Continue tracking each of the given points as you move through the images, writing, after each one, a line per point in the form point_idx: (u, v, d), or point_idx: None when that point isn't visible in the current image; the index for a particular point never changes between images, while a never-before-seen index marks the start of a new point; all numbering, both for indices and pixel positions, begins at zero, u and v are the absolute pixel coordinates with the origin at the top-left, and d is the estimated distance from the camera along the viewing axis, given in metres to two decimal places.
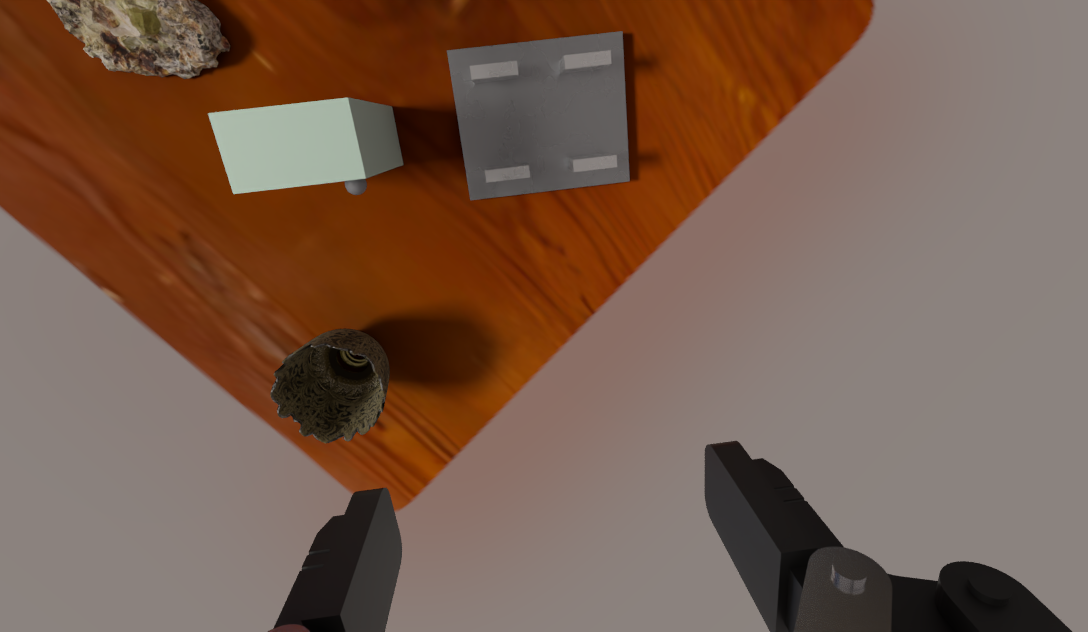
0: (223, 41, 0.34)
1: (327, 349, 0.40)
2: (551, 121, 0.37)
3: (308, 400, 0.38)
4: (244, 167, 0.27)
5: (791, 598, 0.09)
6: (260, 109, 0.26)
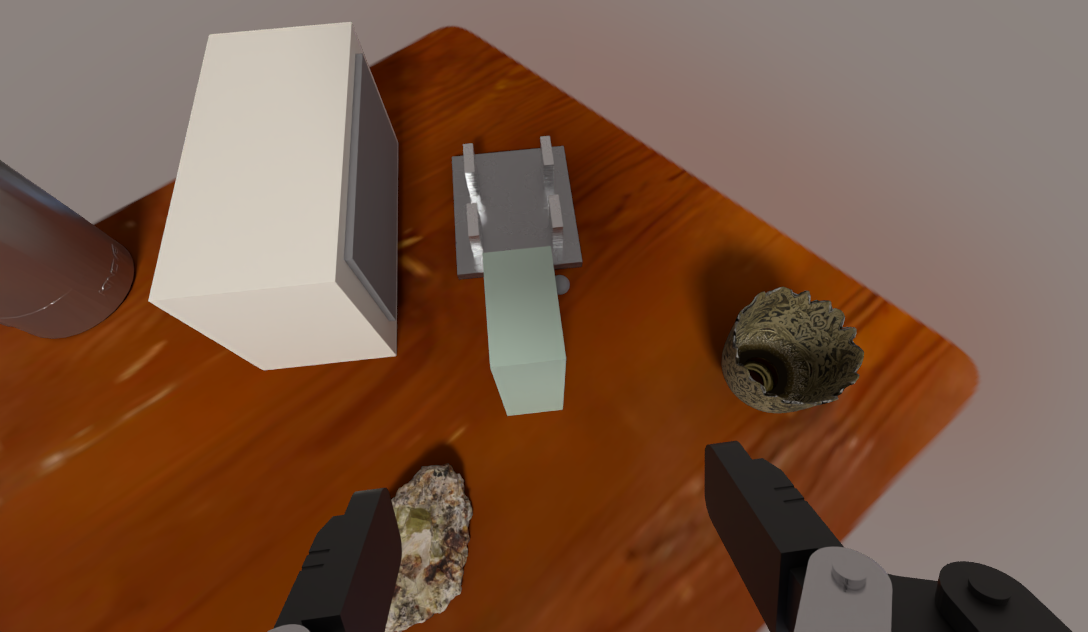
0: (442, 467, 0.35)
1: None
2: (515, 200, 0.44)
3: (816, 398, 0.32)
4: (540, 344, 0.27)
5: (791, 599, 0.09)
6: (488, 322, 0.28)
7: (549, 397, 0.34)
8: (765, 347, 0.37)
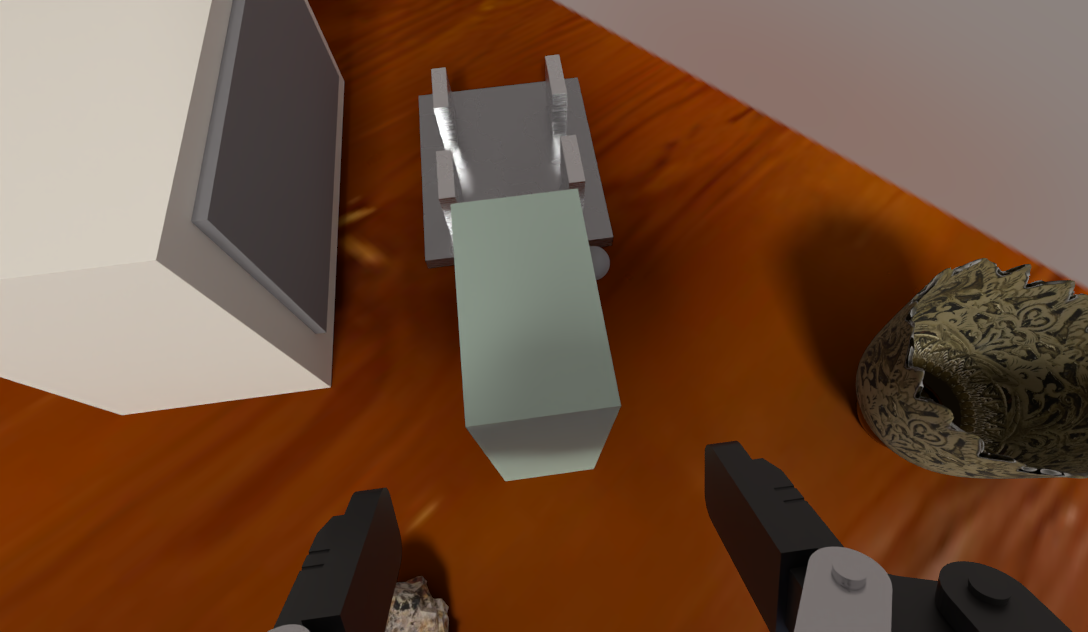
0: (411, 583, 0.21)
1: None
2: (510, 152, 0.30)
3: (1048, 453, 0.18)
4: (566, 376, 0.14)
5: (791, 598, 0.09)
6: (462, 333, 0.14)
7: (575, 457, 0.20)
8: (917, 361, 0.23)
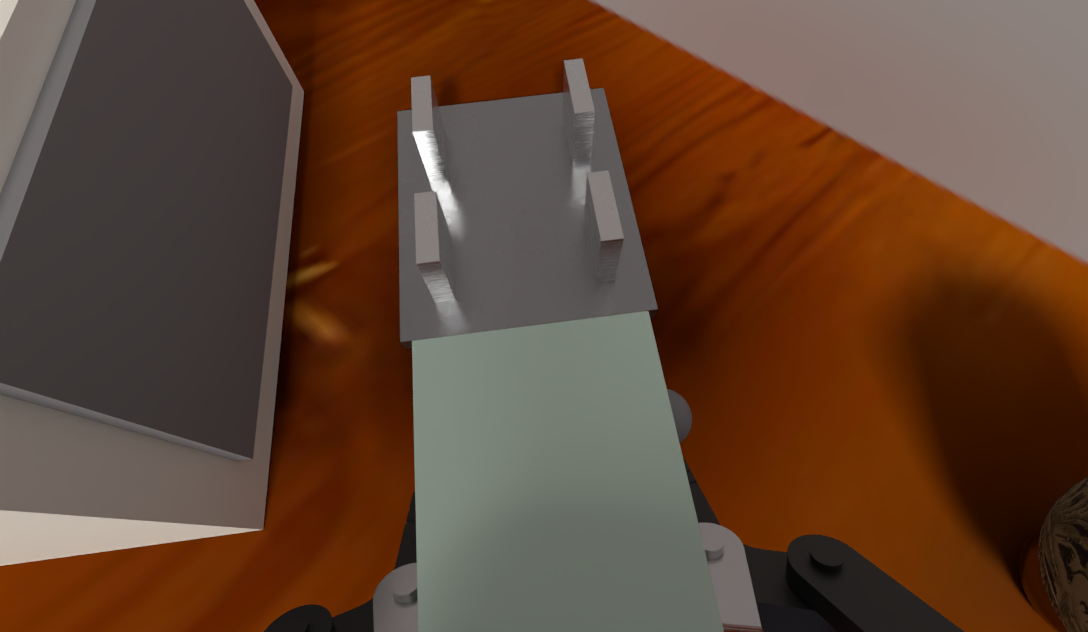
0: None
1: None
2: (517, 188, 0.23)
3: None
4: None
5: None
6: None
7: None
8: None
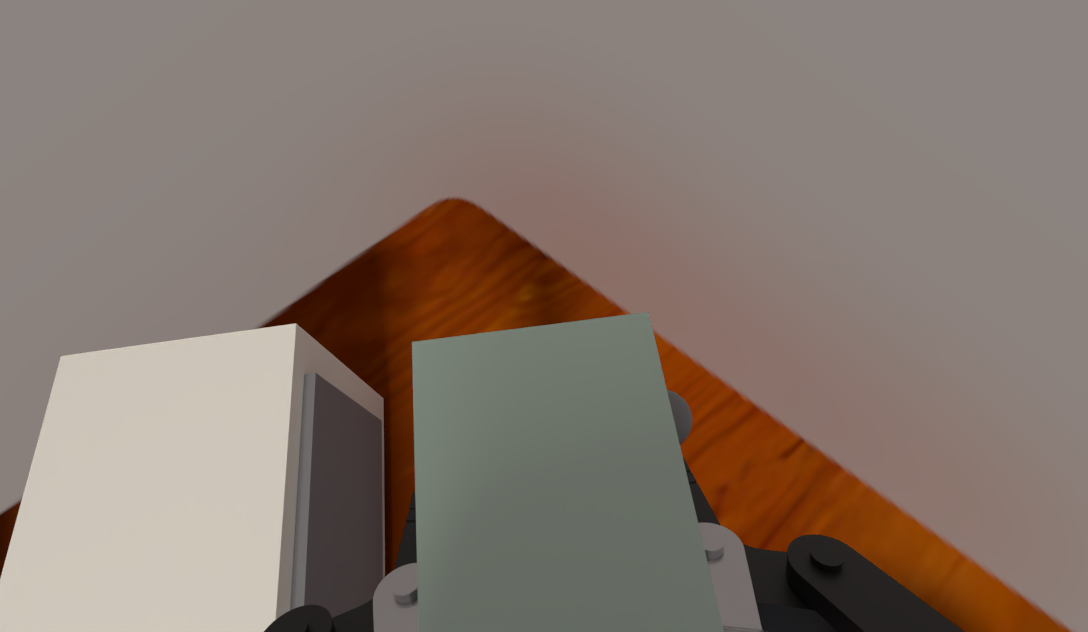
0: None
1: None
2: None
3: None
4: None
5: None
6: None
7: None
8: None
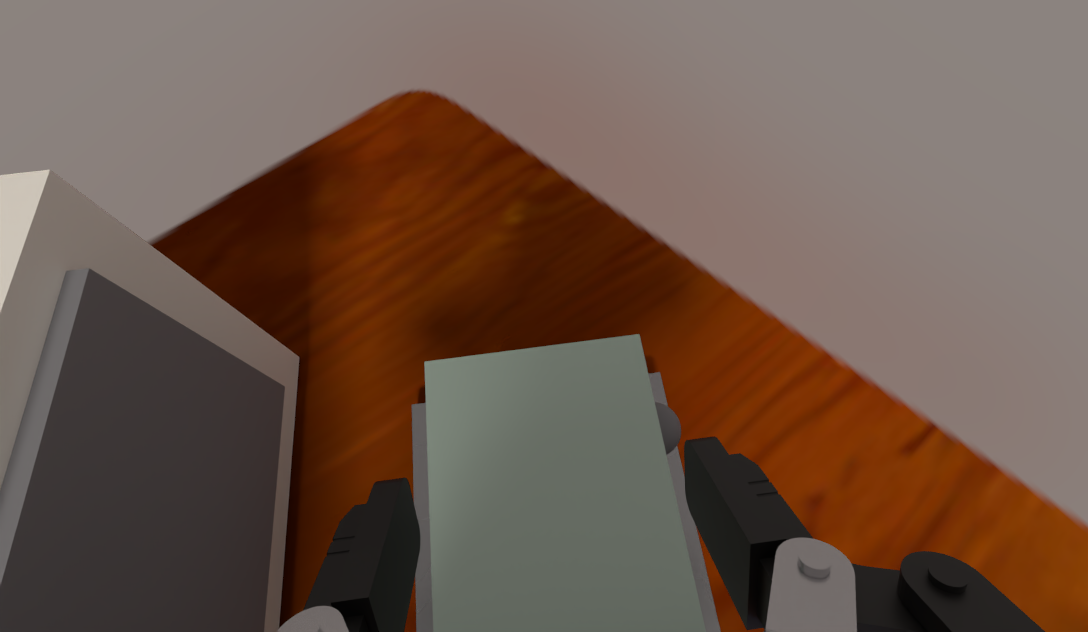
0: None
1: None
2: None
3: None
4: None
5: (761, 588, 0.10)
6: None
7: None
8: None
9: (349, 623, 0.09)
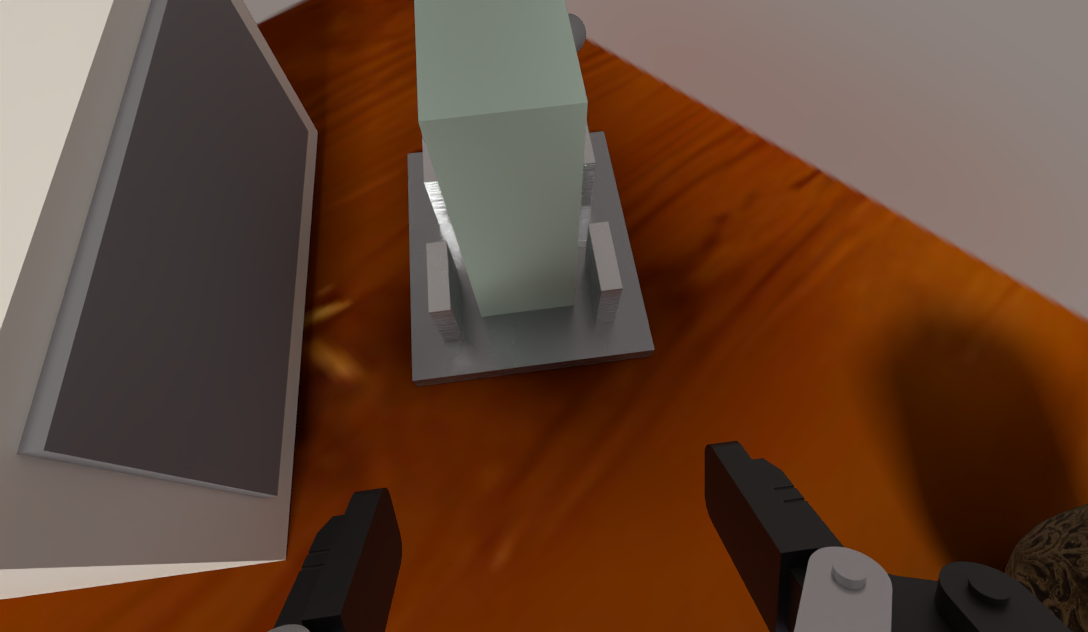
0: None
1: None
2: None
3: None
4: (530, 79, 0.12)
5: (790, 598, 0.09)
6: (419, 46, 0.13)
7: (550, 262, 0.19)
8: None
9: None
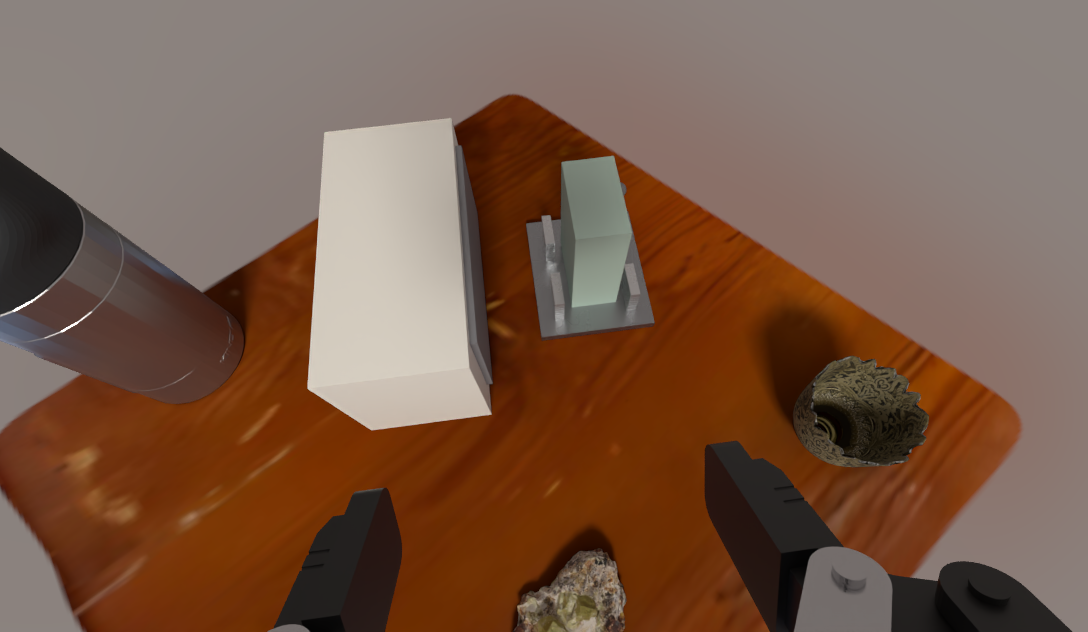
0: (595, 552, 0.38)
1: None
2: None
3: (884, 454, 0.36)
4: (611, 223, 0.36)
5: (790, 598, 0.09)
6: (571, 209, 0.37)
7: (609, 282, 0.42)
8: (829, 402, 0.41)
9: None
